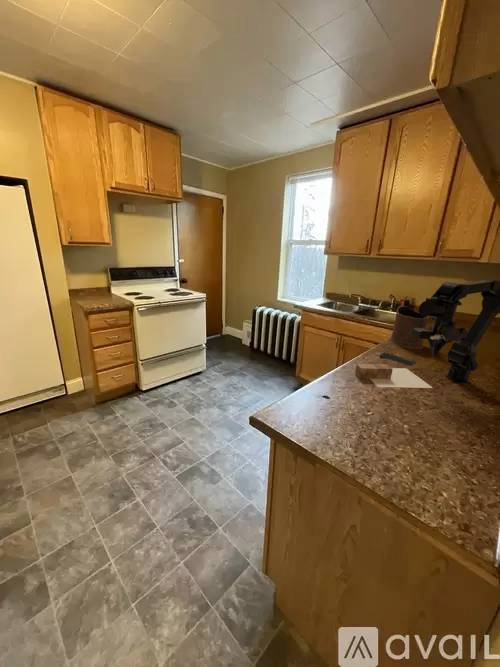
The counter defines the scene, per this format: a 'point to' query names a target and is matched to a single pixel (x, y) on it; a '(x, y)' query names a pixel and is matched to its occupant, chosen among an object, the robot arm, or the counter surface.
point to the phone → (397, 359)
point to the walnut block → (373, 371)
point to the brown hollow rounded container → (407, 328)
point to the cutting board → (401, 380)
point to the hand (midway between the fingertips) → (433, 355)
